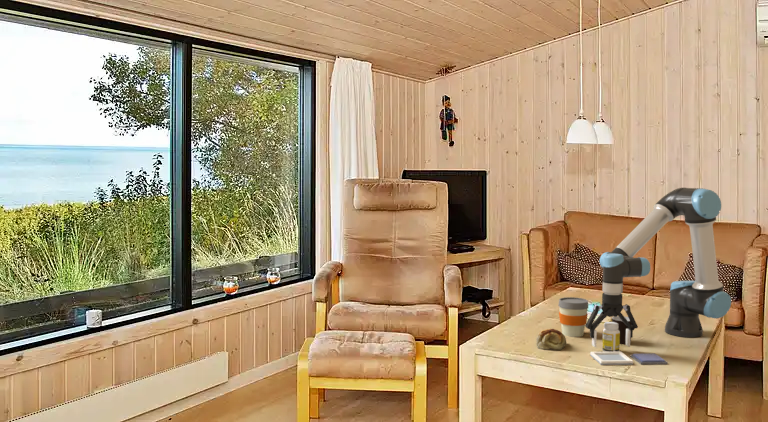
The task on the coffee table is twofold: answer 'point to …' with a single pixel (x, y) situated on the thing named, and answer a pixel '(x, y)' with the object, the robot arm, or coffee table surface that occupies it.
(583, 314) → the reusable coffee cup
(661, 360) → the ink pad
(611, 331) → the supplement bottle
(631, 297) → the coffee table surface
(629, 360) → the picture frame
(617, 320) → the coffee mug
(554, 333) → the pastry
